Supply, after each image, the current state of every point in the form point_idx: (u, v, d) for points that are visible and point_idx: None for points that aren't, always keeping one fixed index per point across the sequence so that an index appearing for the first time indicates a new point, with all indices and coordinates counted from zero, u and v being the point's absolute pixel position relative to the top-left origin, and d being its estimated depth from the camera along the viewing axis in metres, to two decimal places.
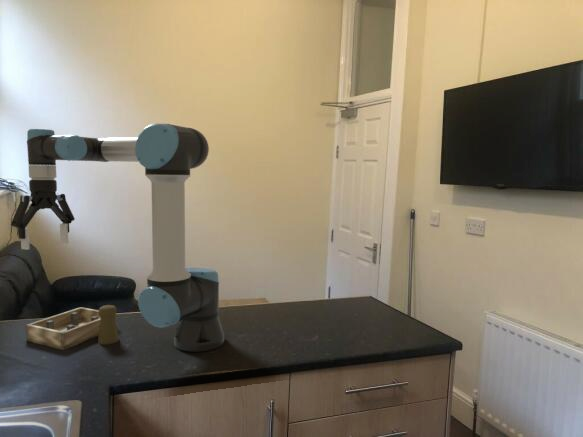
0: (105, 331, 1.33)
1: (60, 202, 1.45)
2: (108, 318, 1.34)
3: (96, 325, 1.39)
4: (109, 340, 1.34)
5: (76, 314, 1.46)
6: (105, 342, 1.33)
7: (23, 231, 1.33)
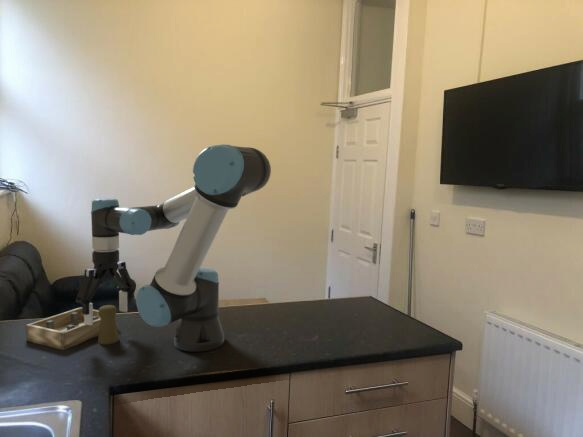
0: (105, 331, 1.33)
1: (120, 270, 1.40)
2: (108, 318, 1.34)
3: (96, 325, 1.39)
4: (109, 340, 1.34)
5: (76, 314, 1.46)
6: (105, 342, 1.33)
7: (87, 307, 1.28)
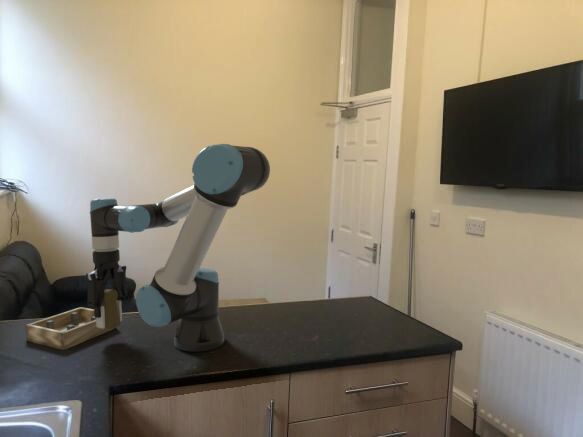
0: (106, 314, 1.32)
1: (119, 274, 1.39)
2: (109, 301, 1.33)
3: (96, 325, 1.39)
4: (110, 323, 1.33)
5: (76, 314, 1.46)
6: (107, 326, 1.32)
7: (99, 310, 1.31)
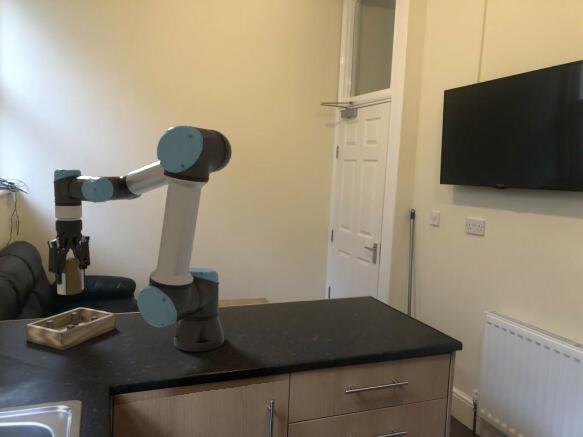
0: (67, 281, 1.37)
1: (82, 244, 1.43)
2: (70, 269, 1.37)
3: (96, 325, 1.39)
4: (71, 290, 1.37)
5: (76, 314, 1.46)
6: (67, 292, 1.37)
7: (60, 277, 1.35)
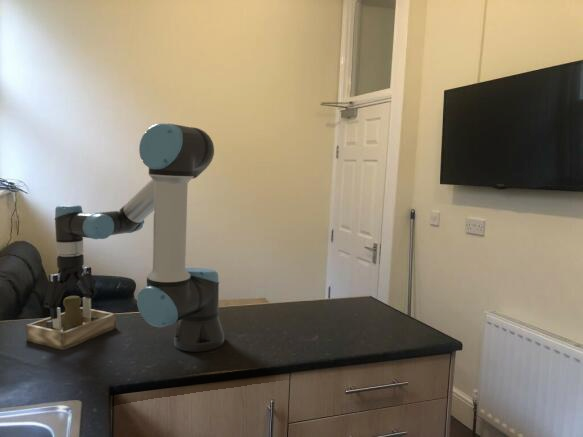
0: (69, 320, 1.38)
1: (85, 275, 1.44)
2: (72, 307, 1.38)
3: (96, 325, 1.39)
4: None
5: None
6: None
7: (55, 311, 1.34)
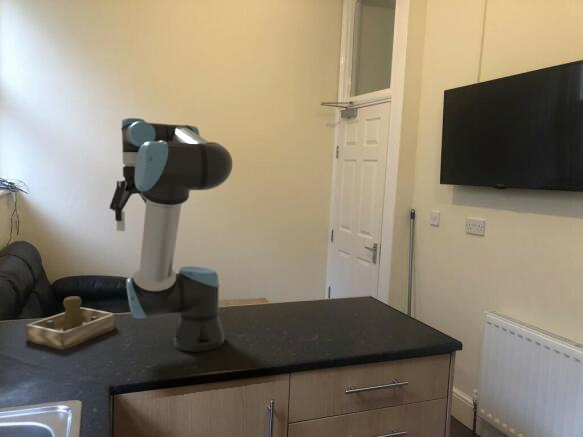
0: (69, 321, 1.38)
1: None
2: (73, 308, 1.38)
3: (96, 325, 1.39)
4: None
5: None
6: None
7: (120, 214, 1.42)
